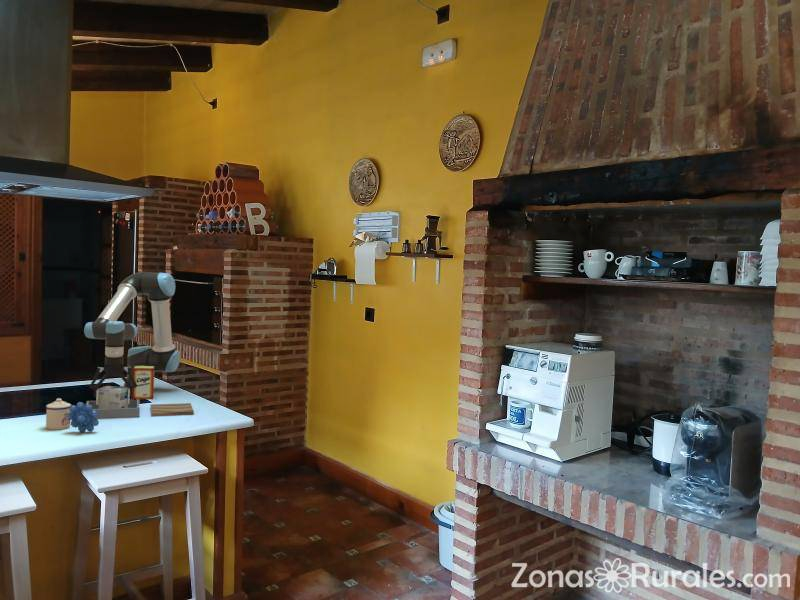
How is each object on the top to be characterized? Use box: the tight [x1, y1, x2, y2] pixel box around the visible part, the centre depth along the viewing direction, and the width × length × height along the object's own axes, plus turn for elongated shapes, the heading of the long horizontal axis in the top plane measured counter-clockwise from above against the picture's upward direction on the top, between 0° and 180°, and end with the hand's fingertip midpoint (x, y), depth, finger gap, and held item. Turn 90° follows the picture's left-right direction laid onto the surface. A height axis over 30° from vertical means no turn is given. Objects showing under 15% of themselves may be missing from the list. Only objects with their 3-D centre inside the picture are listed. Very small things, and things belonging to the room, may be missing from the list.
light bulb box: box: [98, 385, 128, 409], centre depth 281 cm, size 11×7×11 cm, turn 84°
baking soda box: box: [131, 366, 155, 400], centre depth 315 cm, size 10×6×16 cm
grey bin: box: [85, 399, 140, 420], centre depth 281 cm, size 19×22×4 cm
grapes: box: [67, 401, 100, 433], centre depth 247 cm, size 12×7×12 cm, turn 100°
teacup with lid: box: [45, 398, 72, 431], centre depth 255 cm, size 12×9×12 cm
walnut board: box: [150, 402, 195, 417], centre depth 291 cm, size 18×18×2 cm
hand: (113, 403), depth 281 cm, fingers closed on light bulb box, 12 cm apart
